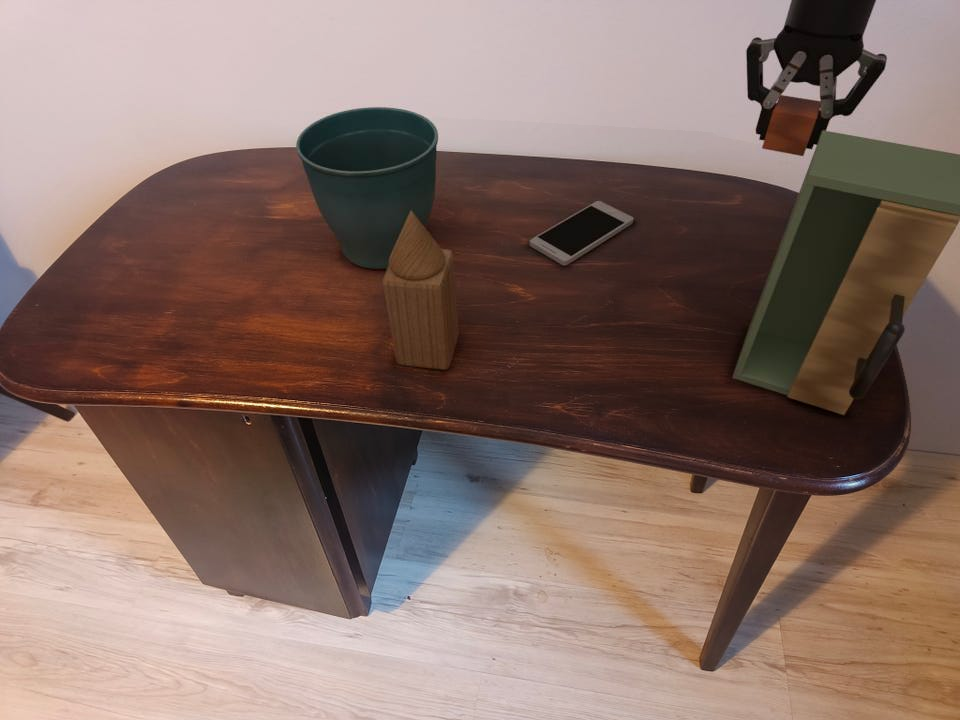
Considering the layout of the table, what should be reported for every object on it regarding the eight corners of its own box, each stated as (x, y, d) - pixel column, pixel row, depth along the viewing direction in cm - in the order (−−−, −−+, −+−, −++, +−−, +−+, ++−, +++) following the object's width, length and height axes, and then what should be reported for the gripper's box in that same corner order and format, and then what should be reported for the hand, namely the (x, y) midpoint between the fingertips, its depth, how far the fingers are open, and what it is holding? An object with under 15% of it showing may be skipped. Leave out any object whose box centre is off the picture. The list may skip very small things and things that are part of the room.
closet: (853, 360, 75) (967, 155, 56) (843, 417, 69) (968, 209, 50) (748, 330, 79) (822, 129, 60) (730, 381, 73) (807, 177, 54)
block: (809, 139, 74) (822, 101, 71) (803, 156, 72) (817, 117, 68) (768, 132, 76) (780, 94, 73) (761, 148, 73) (773, 110, 70)
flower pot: (422, 201, 102) (411, 96, 90) (465, 263, 90) (459, 151, 78) (311, 229, 97) (283, 122, 85) (341, 298, 85) (313, 185, 73)
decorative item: (395, 366, 76) (369, 225, 62) (408, 329, 81) (388, 189, 66) (449, 372, 75) (436, 230, 61) (460, 334, 80) (450, 193, 66)
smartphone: (634, 222, 96) (635, 217, 95) (564, 266, 89) (565, 261, 88) (597, 204, 100) (598, 199, 99) (528, 245, 93) (528, 240, 92)
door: (844, 411, 68) (956, 223, 51) (838, 451, 64) (956, 263, 48) (787, 393, 70) (877, 206, 53) (778, 430, 66) (871, 243, 50)
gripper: (756, -23, 61) (716, 144, 74) (923, -7, 57) (850, 169, 69) (770, -43, 66) (730, 117, 78) (926, -29, 61) (857, 139, 73)
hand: (786, 141), depth 73 cm, fingers closed on block, 4 cm apart
